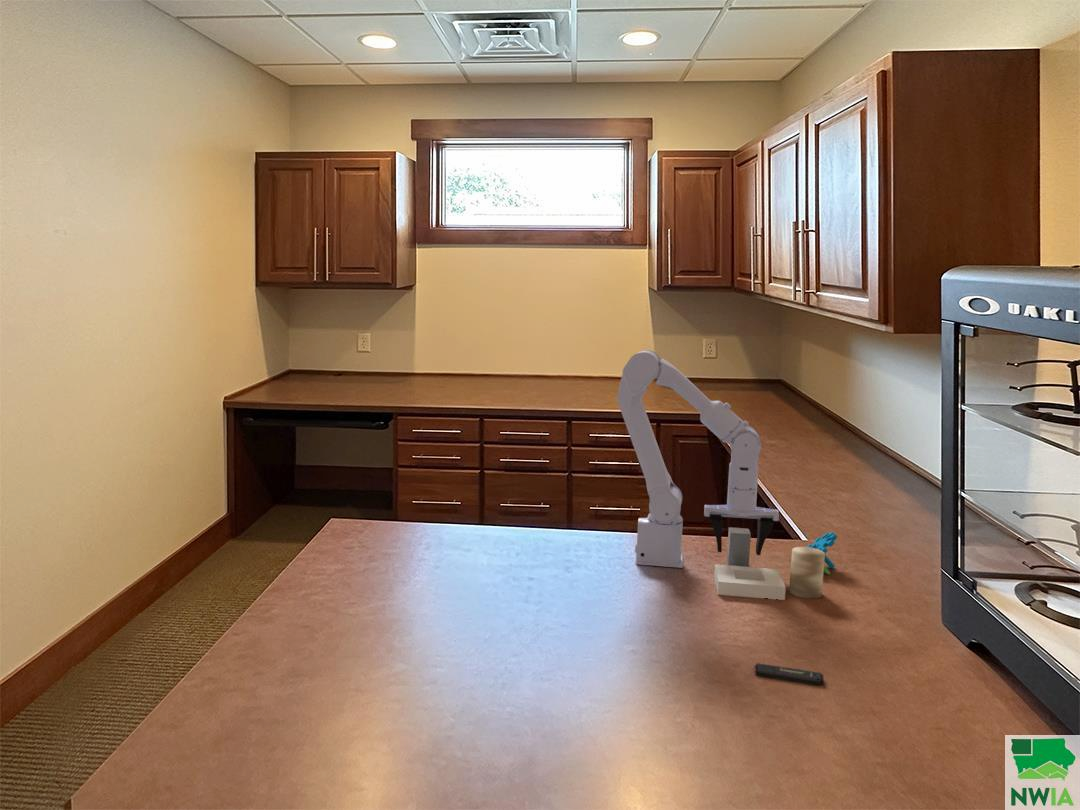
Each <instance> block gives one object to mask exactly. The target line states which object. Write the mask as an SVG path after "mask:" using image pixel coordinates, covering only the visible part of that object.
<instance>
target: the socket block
mask: <svg viewBox="0 0 1080 810" xmlns="http://www.w3.org/2000/svg"><path fill="white" fill-rule="evenodd" d="M713 575H714V576H713V577H715V578H714V581H715V582H714V583H715V588H716V593H718V594H717V595H719V596H729V597H730V596H731V597H742V598H753V599H764V598H768V599H767V600H776V599H778V600H777V601H779V600H781V601H785V600H786V599H785V598H786V584H785V583H784V580H783V578H782V575H781V573H780V571H779V569H778V568H767V567H754V566H749V567H744V566H731V565H726V564H718V563H716V564H714V573H713Z"/></svg>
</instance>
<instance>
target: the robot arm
mask: <svg viewBox="0 0 1080 810" xmlns="http://www.w3.org/2000/svg"><path fill="white" fill-rule="evenodd" d="M655 379H656V383H655V385H658V386H663V387H666V388H667V387H668V388H671V389H672V390H673V391H674V392H675V393H677V394H678V395H679V396H680V397H681V398H683V399H684V400H685V401H686V402H687V403H689V404H690V405H691V406H692V407H693V408H694V409H695V410H696V411H698V412H699V413H700V414H699V415H700V416H699V420H700V423H702V424H703V425H704V426H705V427H706V428H707V429H708V430H710V432H712V433H713V435H715V436H716V437H717V438H719V440H721V442H722V443H725V444H729V447H730V451H731V452H730V453H731V456H730V462H729V464H728V465H729V466H728V467H729V468H728V478H727V479H728V480H727V481H728V482H727V483H728V484H727V496H726V497H727V498H726V504H704V507H703V509H704V511H703V516H704V517H709V521H710V524H711V526H712V529H713V532H714V535H715V539H716V546H717V547H716V549H717V553H722V548H723V545H722V544H723V542H722V541H723V540H722V539H723V538H722V536H723V526H724V521H723V517H724V518H738V519H739V518H740V519H753V520H754V519H755V520H757V532H756V533H757V537H756V543H755V553H756V556H761V553H762V549H763V547H764V544H765V542H766V539H767V538H768V535H769V534H770V533H771V530H773V527H774V522H779V517H780V511H779V510H778V509H775V508H774V509H773V508H766V507H761V506H757V498H758V495H757V494H758V483H759V481H758V480H759V468H760V467H759V464H758V463H759V460H760V459H759V454H760V452H761V451H762V447H763V446H762V444H761V443H762V442H761V439H760V436H759V434H758V432H757V431H756V430H755V428H754V427H753V426H751V425H749V422H748V421H747V420H742V418H740V417H739V416H738V415H737V414H736V413H735V412H734V411H732V410H731V409H732V406H731V404H729V402H725V403H724V402H722V401H721V400H711V399H710V398H708V397H707V395H706V394H704V393H703V392H702V390H700V389H699V388H698V387H697V386H696V385H695V384H694V383H692V381H691V380H689V378H688V377H687V376H686V375H684V374H683V373H682V372H681V371H680V370H679V368H677V367H676V366H674V365H673V364H671V362H669V361H668V360H666V359H665V358H661V357H660V355H659V354H658V353H657V352H655V350H654V351H653V350H651V349H642V350H640V351H638V352H637V353H634V354H633V355H632V356H631V357H630V358H629V359H628V361H627V362H626V364H625V365H624V367H623V369H622V374H621V378H620V382H619V385H618V391H617V394H616V401H617V403H618V407H619V409H620V412H621V415H622V418H623V421H624V423H625V424H624V425H625V426H626V429H627V432H628V435H629V438H630V441H631V444H632V446H633V448H634V451H635V454H636V457H637V460H638V462H639V465H640V467H641V471H642V474H643V477H644V480H645V485H646V490H647V494H648V497H649V504H648V509H649V513H648V515H647V517H639V518H638V520H637V535H636V536H637V537H636V543H635V546H634V547H635V548H634V553H636V556H635V559H636V560H635V564H636V565H640V566H651V567H652V566H654V567H655V566H656V567H667V568H677V569H678V568H679V569H681V568H682V569H683V567H684V560H683V554H682V544H683V543H682V542H683V527H684V526H683V524H684V522H683V521H684V518H683V517H682V515H681V511H682V510H681V509H682V508H681V505H682V504H683V492H682V491H681V489H680V488H679V487H678V486H677V485H675V482H673V480H672V476H671V475H670V473H669V472H668V469H667V467H666V464H665V462H664V458H663V456H662V453H661V451H660V446H659V445H658V442H657V439H656V436H655V433H654V430H653V428H652V425H651V423H650V420H649V416H648V414H647V412H646V408H645V405H644V403H643V397H644V395H645V393H646V391H647V389H648V388H649V385H650V384H651V383H652V382H653V381H654V380H655Z"/></svg>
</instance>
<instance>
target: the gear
mask: <svg viewBox="0 0 1080 810" xmlns="http://www.w3.org/2000/svg"><path fill="white" fill-rule="evenodd" d="M837 539H838V535H837V534H836V533H834V531H831V532H829V533H828V532H826V533H824V534H823V535H822V537H817V538H815V540H814V542H813V544H811V543H809V544H808V545H807V546H806V547H810V548H815V549H819V550H821V551H823V552H824V553H825V559H824V564H826V565H827V566H828V567H829V568H830V569H831V568H832V569H833V568H835V567H836V565H835V564H834V563H833V562H832V561H831V560H830V559H829V557H828V556H827V555H826V554H827V553H828V551H829V550H828V549H827V547H829V548H830V547H833V545H834V544H835V541H837ZM823 573H826V575H827V574H828V575H827V576H829V575H830V574H831V572H830V570H829V569H828V568H827V567H826V566H825V565H824V572H823Z"/></svg>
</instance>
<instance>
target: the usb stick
mask: <svg viewBox="0 0 1080 810" xmlns="http://www.w3.org/2000/svg"><path fill="white" fill-rule="evenodd" d="M754 669H755V676H757V677H762V678H769V679H775V680H781V681H786V682H794V683H801V684H806V685H807V684H808V685H811V686H812V685H813V686H824V683H825V682H824V681H825V680H824V674H823V673H821V672H819V671H814V670H813V671H811V670H805V669H799V668H791V667H787V666H785V667H784V666H779V665H777V666H776V665H770V664H764V663H759V662H758V663H756V664H755V665H754Z"/></svg>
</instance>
